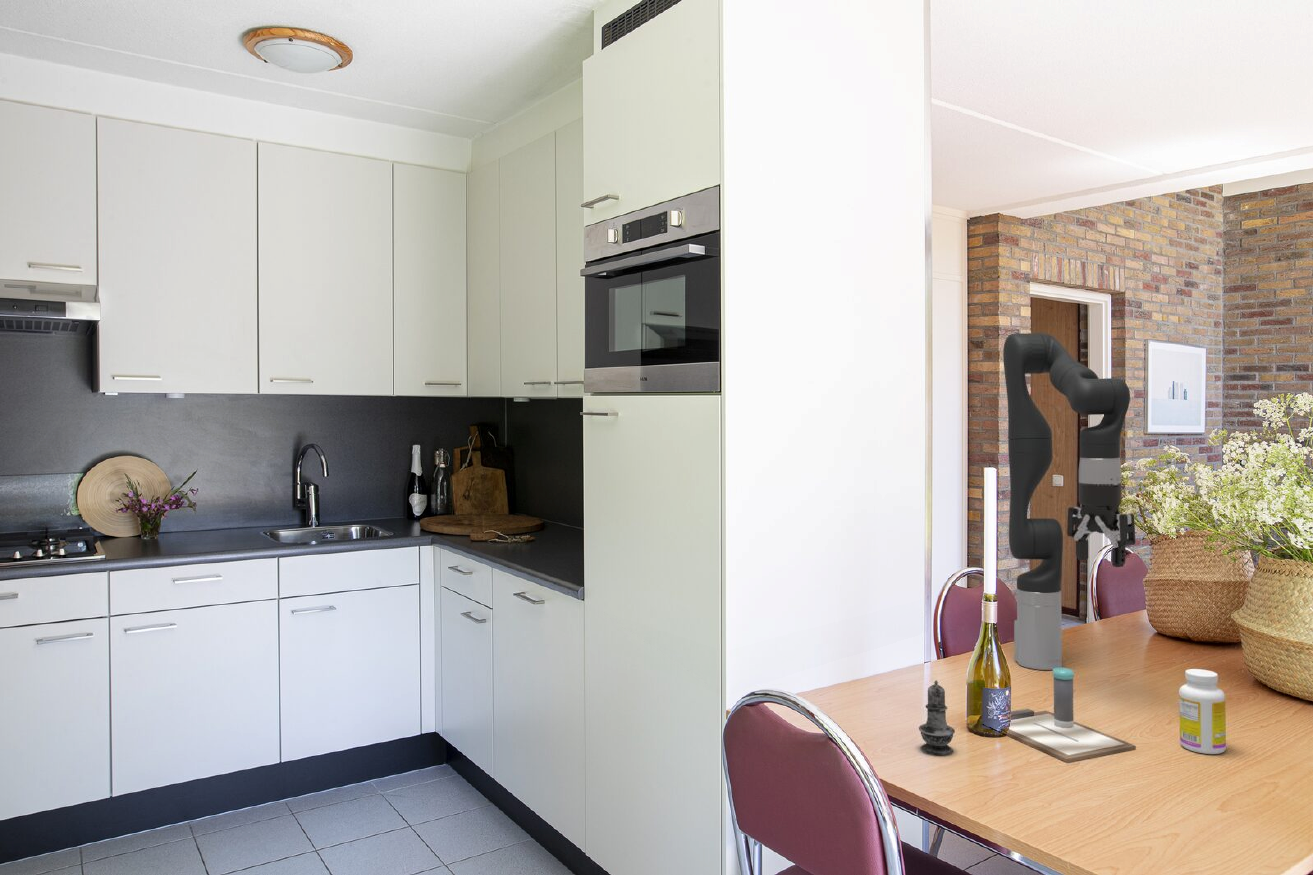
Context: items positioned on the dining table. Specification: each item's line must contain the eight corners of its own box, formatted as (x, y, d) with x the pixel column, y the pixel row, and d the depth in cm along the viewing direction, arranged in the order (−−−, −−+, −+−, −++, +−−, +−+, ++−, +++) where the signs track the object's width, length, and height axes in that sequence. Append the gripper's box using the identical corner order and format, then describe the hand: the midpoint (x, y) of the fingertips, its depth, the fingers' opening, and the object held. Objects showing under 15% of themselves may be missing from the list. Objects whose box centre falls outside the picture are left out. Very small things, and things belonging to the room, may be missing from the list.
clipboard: (981, 724, 164) (981, 715, 164) (1045, 713, 169) (1045, 705, 169) (1066, 762, 145) (1066, 753, 145) (1135, 749, 150) (1135, 739, 150)
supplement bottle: (1222, 744, 152) (1222, 669, 151) (1229, 758, 146) (1228, 680, 145) (1177, 739, 154) (1176, 665, 154) (1181, 752, 148) (1181, 675, 148)
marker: (1049, 723, 161) (1048, 668, 161) (1063, 720, 162) (1062, 666, 162) (1064, 729, 158) (1063, 674, 158) (1078, 726, 159) (1077, 671, 159)
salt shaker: (955, 745, 153) (954, 676, 153) (954, 758, 148) (954, 686, 148) (919, 742, 155) (919, 674, 155) (918, 754, 150) (917, 683, 150)
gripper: (1056, 479, 179) (1057, 559, 180) (1115, 484, 166) (1115, 570, 166) (1085, 477, 182) (1086, 556, 182) (1145, 482, 168) (1145, 567, 169)
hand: (1100, 563), depth 174 cm, fingers open, 8 cm apart
